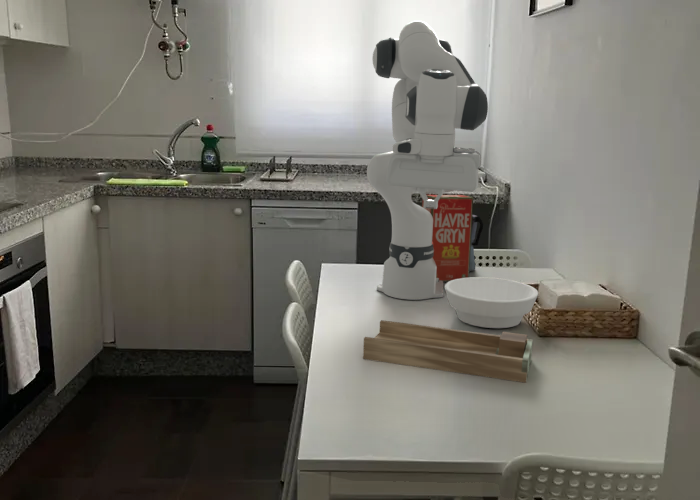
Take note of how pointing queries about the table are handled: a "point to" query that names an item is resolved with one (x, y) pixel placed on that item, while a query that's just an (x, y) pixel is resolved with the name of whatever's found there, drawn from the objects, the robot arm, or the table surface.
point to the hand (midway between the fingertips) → (430, 208)
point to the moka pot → (474, 225)
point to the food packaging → (452, 235)
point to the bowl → (490, 301)
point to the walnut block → (512, 344)
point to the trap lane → (446, 351)
